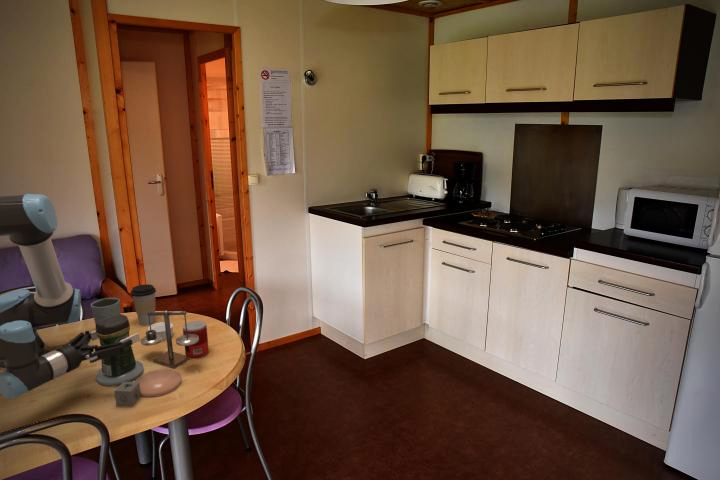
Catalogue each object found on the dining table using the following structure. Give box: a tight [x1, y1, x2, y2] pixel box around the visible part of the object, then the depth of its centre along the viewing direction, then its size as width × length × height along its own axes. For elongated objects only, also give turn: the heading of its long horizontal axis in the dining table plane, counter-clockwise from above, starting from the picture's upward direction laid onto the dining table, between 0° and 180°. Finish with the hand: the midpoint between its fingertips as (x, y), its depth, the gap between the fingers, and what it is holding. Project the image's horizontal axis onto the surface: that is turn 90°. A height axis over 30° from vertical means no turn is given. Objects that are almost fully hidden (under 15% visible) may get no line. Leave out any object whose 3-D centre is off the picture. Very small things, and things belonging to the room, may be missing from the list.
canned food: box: [182, 320, 210, 359], centre depth 172 cm, size 8×8×11 cm
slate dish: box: [95, 359, 145, 387], centre depth 160 cm, size 14×14×2 cm
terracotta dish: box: [134, 368, 182, 398], centre depth 154 cm, size 14×14×2 cm
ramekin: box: [147, 321, 174, 342], centre depth 186 cm, size 9×9×4 cm
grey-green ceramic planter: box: [90, 297, 121, 325], centre depth 191 cm, size 10×10×12 cm
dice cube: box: [113, 381, 142, 407], centre depth 145 cm, size 5×5×5 cm
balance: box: [140, 310, 199, 370], centre depth 166 cm, size 24×7×20 cm, turn 64°
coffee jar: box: [95, 313, 136, 377], centre depth 157 cm, size 10×8×19 cm
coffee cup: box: [130, 284, 157, 326], centre depth 198 cm, size 9×9×15 cm
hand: (123, 332), depth 159 cm, fingers open, 13 cm apart
